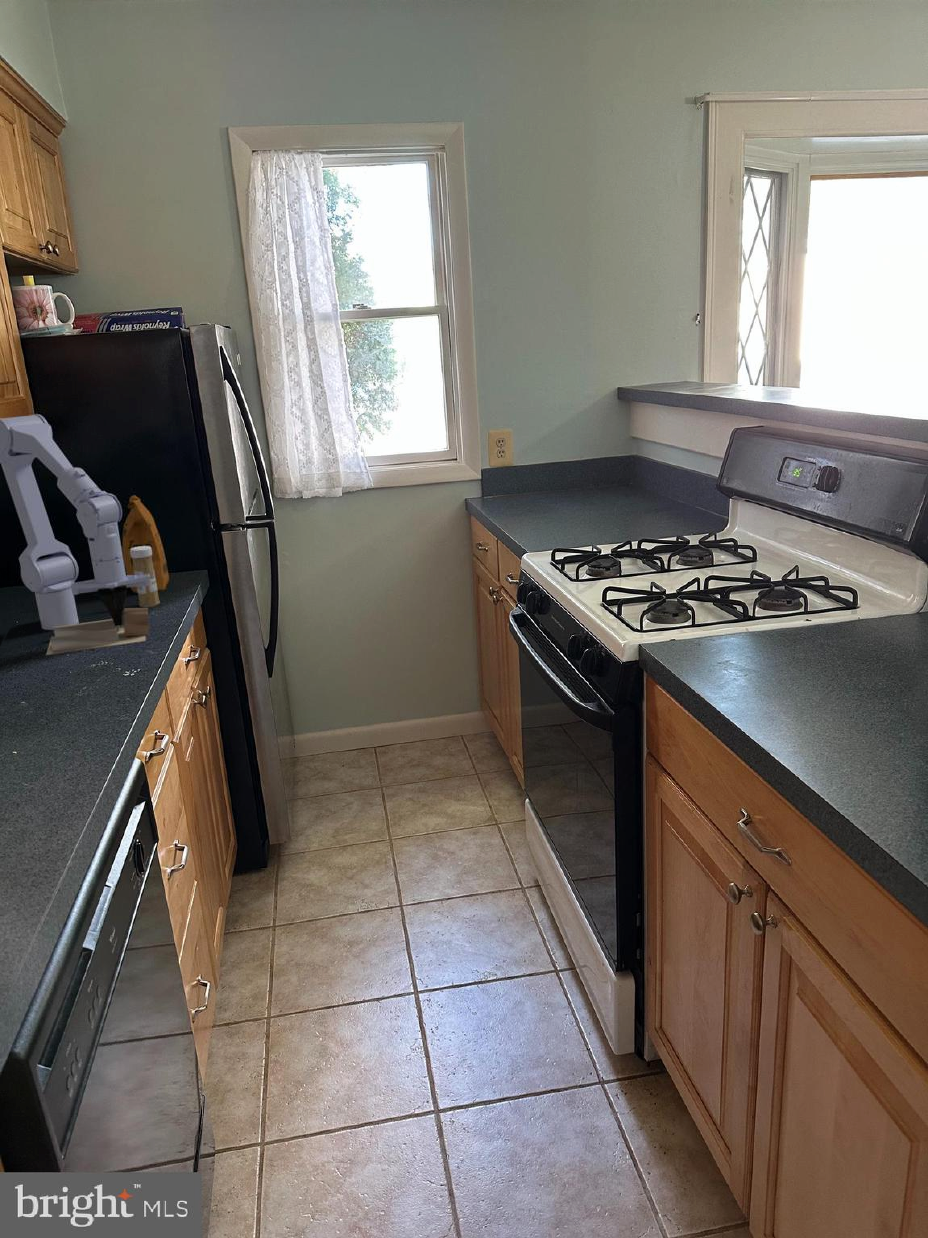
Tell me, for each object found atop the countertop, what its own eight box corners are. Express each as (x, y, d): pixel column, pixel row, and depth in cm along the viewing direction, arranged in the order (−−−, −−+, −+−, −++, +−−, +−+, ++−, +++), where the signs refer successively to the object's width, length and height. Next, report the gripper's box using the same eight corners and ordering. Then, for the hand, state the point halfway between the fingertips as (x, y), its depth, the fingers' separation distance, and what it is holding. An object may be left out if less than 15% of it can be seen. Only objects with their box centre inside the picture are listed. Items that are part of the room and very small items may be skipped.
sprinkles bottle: (162, 605, 202) (153, 547, 198) (142, 609, 199) (132, 550, 195) (157, 601, 205) (148, 544, 201) (136, 605, 203) (127, 547, 199)
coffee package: (124, 595, 212) (109, 504, 205) (130, 583, 223) (115, 496, 217) (168, 590, 214) (154, 500, 207) (171, 578, 225) (158, 492, 219)
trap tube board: (52, 641, 179) (49, 625, 178) (145, 628, 185) (143, 612, 184) (47, 660, 168) (43, 642, 167) (146, 645, 174) (143, 628, 173)
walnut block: (125, 629, 180) (124, 608, 179) (148, 629, 181) (147, 607, 180) (124, 636, 176) (123, 614, 175) (148, 635, 177) (147, 613, 176)
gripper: (65, 566, 167) (78, 635, 171) (146, 557, 172) (156, 624, 176) (68, 559, 173) (80, 625, 178) (146, 550, 178) (156, 614, 182)
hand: (118, 624), depth 177 cm, fingers closed
